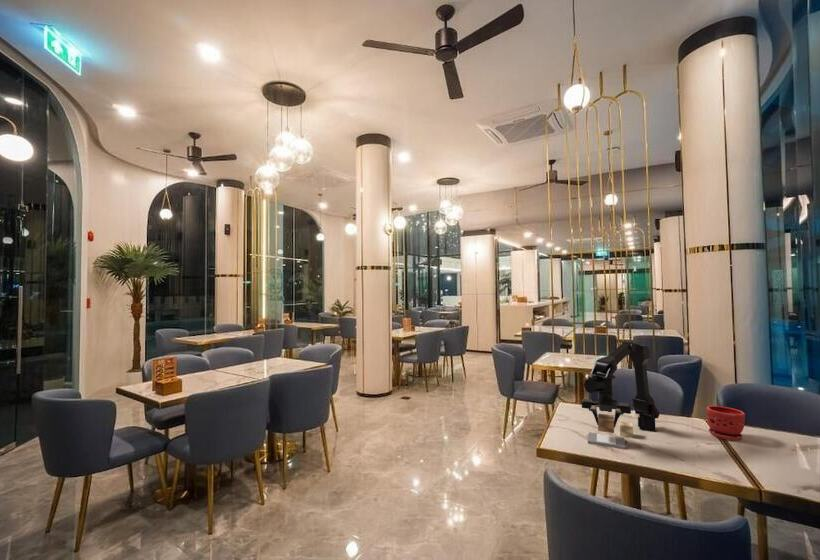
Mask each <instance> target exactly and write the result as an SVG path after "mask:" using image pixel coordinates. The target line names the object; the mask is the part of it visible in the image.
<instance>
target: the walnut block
mask: <svg viewBox="0 0 820 560" xmlns="http://www.w3.org/2000/svg"><path fill="white" fill-rule="evenodd" d="M597 414H598V425H597V428H598V429H597V432H604V433H611V434H615V427H614V417H615V414H614V415H613V414H604V413H597Z"/></svg>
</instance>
